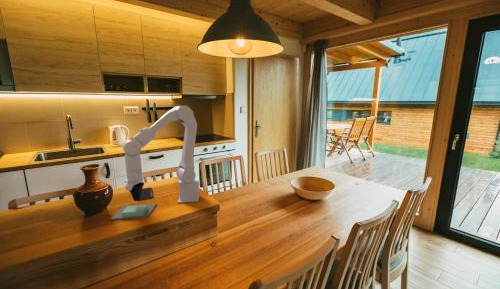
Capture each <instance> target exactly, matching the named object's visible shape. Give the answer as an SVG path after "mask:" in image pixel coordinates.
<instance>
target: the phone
mask: <svg viewBox="0 0 500 289" xmlns="http://www.w3.org/2000/svg"><path fill="white" fill-rule="evenodd" d="M153 198H154V193H153V188H152V187H145V188H144V187H143V188H142V192H141V199H140V201H145V200H151V199H153Z"/></svg>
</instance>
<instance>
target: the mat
mask: <svg viewBox="0 0 500 289" xmlns="http://www.w3.org/2000/svg"><path fill="white" fill-rule="evenodd" d="M142 205H143V204H133V205H132V204H131V205H122V207H121V208H120V209H119V210H118V211H117V212H116V213H115V214H114V215H113V216H112V217H111V218H110V220H111V221H116V220H127V219H128V220H133V219H145V218H146V219H147V218H149V217H150V216H151V214H152V212H153V211H154V210H155V208H156V207H157V203H148V204H147V203H146V204H144V205H147V206H148V210H147V211H146V213H145V214H144V215H143V216H135V217H122V212H123V211H124V210H125V209H126V208H127V207H128V206H142Z"/></svg>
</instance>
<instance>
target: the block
mask: <svg viewBox="0 0 500 289" xmlns="http://www.w3.org/2000/svg"><path fill="white" fill-rule="evenodd" d="M141 205H142V206H129V205H127V206H128V207H127V208H126V209H125V210H124V211H123V212H122V217H135V216H143V215H144V214H145V213H146V211H147V210H148V206H147V205H145V204H141Z"/></svg>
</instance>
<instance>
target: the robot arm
mask: <svg viewBox="0 0 500 289" xmlns="http://www.w3.org/2000/svg"><path fill="white" fill-rule="evenodd" d="M177 121H179V122H180V123H181V124H182V125H183V126H184V135H183V143H182V152H181V160H180V162H179V165H178V168H177V169H176V176H177V177H178V181H177V183H178V194H179V195H178V199H177V202H176V203H179V204H180V203H181V204H182V203H196V202H197V203H198V202H199V199H200V197H201V191H200V181H199V180H196V172H195V164H194V155H195V148H196V138H197V130H198V123H197V120H196V117H195V116H194V111H193V110H192V109H191V108H190V107H189V106H188V105H175V106H174V107H173V108H171V109H169V110H168V111H167V112H165V113H164V114H163V115H162V116H161V117H160V118H159V119H158V120H156V121H155V122H154V123H153V124H152V125H151V126H150V127H148V126H147V127H142V128H140V129H139V130H138V133H136V134H135V135H134V136H131V137H129V140H127V141H125V143H124V144H123V147H122V150H123V151H124V158H125V159H124V163H125V170H126V179H124V183H125V190H126V191H129V193H130V194H131V197H132V199H133V202H140V201H141V200H140V199H141V192H142V189H144V185H145V182H144V179H145V177H144V176H145V175H144V174H143V169H142V158H141V154H140V153H141V152H142V149H143V148H145V147H146V146H147V145H148V144H150V142H152V141H153V140H154V139H155V138H156V134H157V133H158V132H159V131H160V130H161V129H163V128H164V127H165V126H167V124H169V123H171V122H177Z"/></svg>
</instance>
